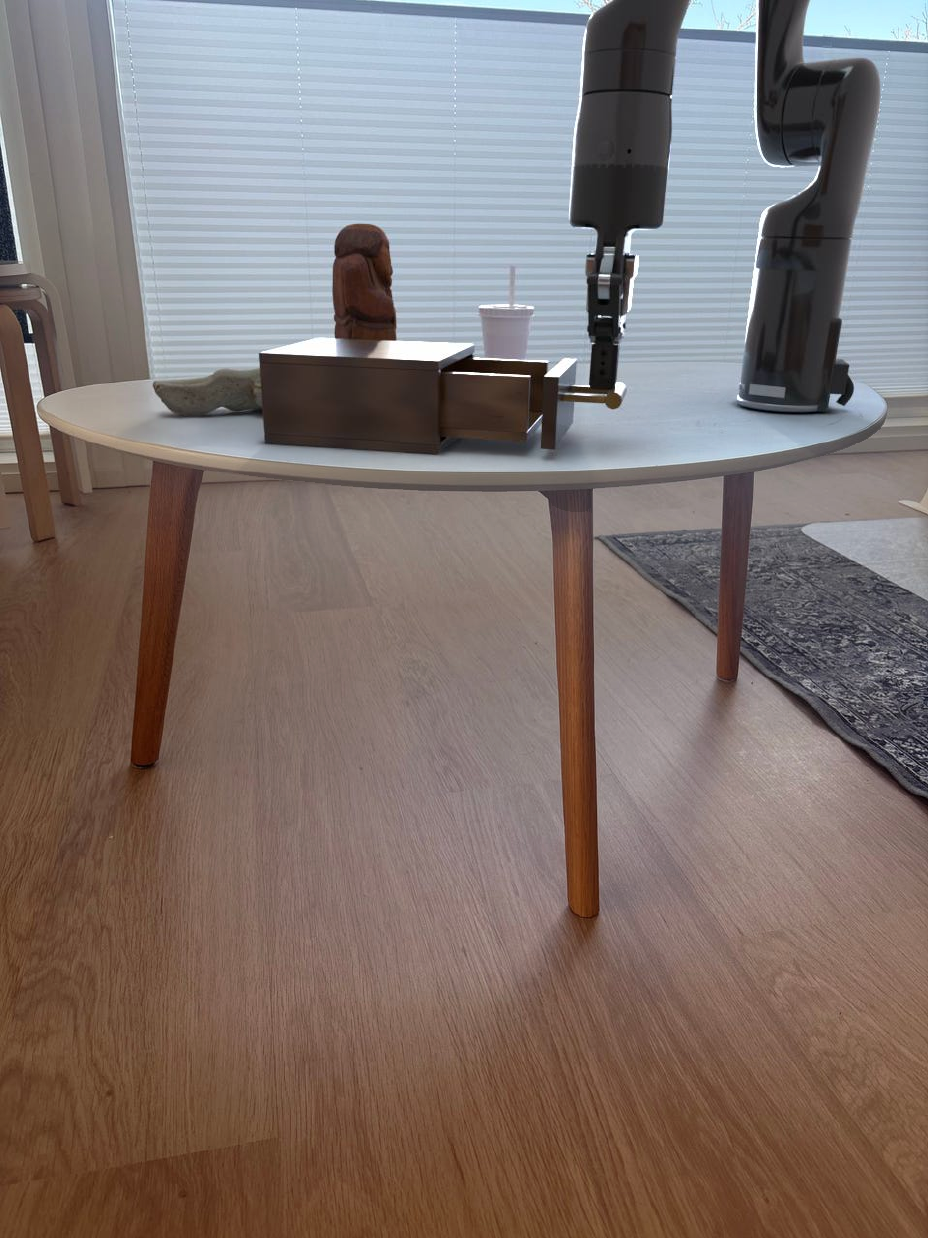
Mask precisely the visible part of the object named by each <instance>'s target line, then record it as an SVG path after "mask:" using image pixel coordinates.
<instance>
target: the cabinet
mask: <svg viewBox="0 0 928 1238" xmlns="http://www.w3.org/2000/svg"><path fill="white" fill-rule="evenodd" d="M463 358H475V344H474V343H455V342H432V341H410V340H409V341H407V340H406V341H405V340H397V341H385V340H361V339H336V338H335V337H315V338H311V339H308V340H304V341H300V342H296V343H292V344H288V345H284V346H281V347H277V348H273V349H268V350H264V351H261V352H260V351H259V352H258V363H259V368H260V380H261V395H262V409H261V410H262V423H263V425H262V426H263V433H264V434H263V437H264V438H263V439H264V440H263V441H264V444H276V445H289V446H304V447H305V446H307V447H322V448H337V449H353V450H365V451H367V450H368V451H381V452H396V453H397V452H399V453H411V454H428V455H439V454H440V453H441V452H442V451H443V450H445V449H446V448H447V447H448V446H450V445H451V444H452V443H454V441H456V440H457V439H458V438H450V437H440V384H441V371H440V370H441V369H443V368H445V367H447V366H449V365H451V364H453V363H455V362H457V361H459V360H461V359H463Z"/></svg>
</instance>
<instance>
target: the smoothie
mask: <svg viewBox="0 0 928 1238" xmlns="http://www.w3.org/2000/svg"><path fill="white" fill-rule="evenodd" d="M515 286H516V265H510V266H509V294H508V295H509V297H508V304H483V305H480V306H478V313H477V314H478V315H477V316H479V317H480V320H481V322H480V323H481V333H482V342H483V352H484V353H483V355H484V358H487V359H510V360H526V357H527V350H528V344H529V337H530V331H531V324H532V318H534V317H535V307H534V306H530V305H522V304H515V289H516V287H515Z"/></svg>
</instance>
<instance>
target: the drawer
mask: <svg viewBox="0 0 928 1238" xmlns="http://www.w3.org/2000/svg"><path fill="white" fill-rule="evenodd" d="M577 363H578V359H577V358H563V359H562V360H561V361H559V363H558V364H556V365H555V366H554V367H553V368H551V369H550V370H549V360H533V359H532V360H531V359H530V360H529V359H528V360H527V359H525V360H510V359H487V358H485V357H483V358H482V357H474V358H463V359H461V360H459V361H457V362H455V363H453V364H451V365H449V366H447V367H445V368H443V369H441V370H440V371H441V384H440V437H450V438H457V439H466V440H467V439H468V440H482V441H483V440H487V441H498V442H499V441H501V442H514V443H515V442H516V443H527V442H528V441H529V439H530V438H531V437H532V436H533V434H535V432H537V430H538V429H539V428H540V427H541V428H540V429H541V430H540V449H541V450H542V449H543V450H556V449H557V447H558V446H559V444H560V443H561V441H562V440H563V438H564V437H565V435H566V434H567V433H568V431H569V429H570V428H571V426H572V425H573V424H574V414H575V403H584V404H585V403H589V404H604V405H605V406H606V407H607V408H608V409H610V410H616V409H619V408H620V407H621V405H622V404H623V401H624V399H625V396H626V395H627V392H628V390H627V389H628V388H627V386H626V384H624V383H623V382H618V381H617V382H616V385H615V387H614V388H613V389H611V390H595V389H592V388H590V386H589V385H582V384H581V385H578V384H576V381H577V380H576V379H577Z"/></svg>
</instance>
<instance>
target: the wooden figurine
mask: <svg viewBox="0 0 928 1238" xmlns="http://www.w3.org/2000/svg"><path fill="white" fill-rule="evenodd" d="M333 249H334V257H335V258H334V261H333V264H332V285H331V286H332V303H333V311H334V314H333V320H334V322H335V323H334V333H333V334H334V338H336V339H361V340H385V341H398V340H397V339H398V338H397V328H398V327H397V310H396V307H395V303H394V299H393V291H392V289H391V287H392V285H393V278H392V276H393V274H394V269H393V265H392V258H391V251H390V249H391V248H390V241H389V239H388V236H387V235H386V232H385V231H384V230H383V229H382V228H381V227H379V226H378V225H376V224H373V223H351V224H348V225H346V226H344V227H343V228H342V229H341V230H340V231H339V232H338V234H337V235H336V238H335V241H334V248H333Z"/></svg>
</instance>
